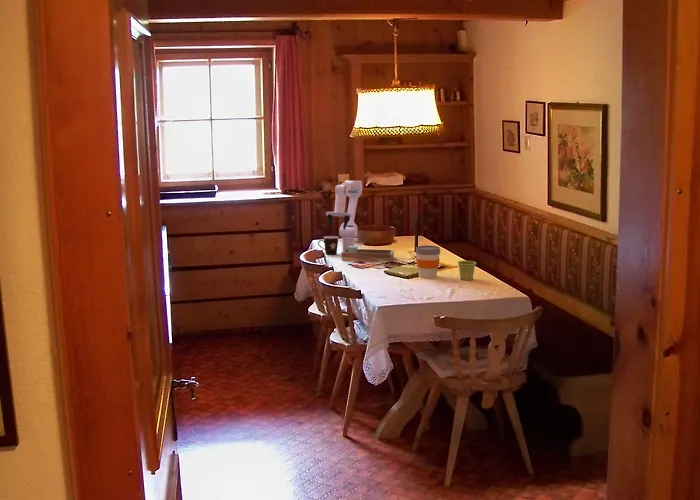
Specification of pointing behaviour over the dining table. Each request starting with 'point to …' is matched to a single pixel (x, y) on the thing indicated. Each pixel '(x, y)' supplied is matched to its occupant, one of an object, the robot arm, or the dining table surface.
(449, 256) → the dining table surface
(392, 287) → the dining table surface
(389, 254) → the trap tray
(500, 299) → the dining table surface
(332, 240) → the coffee mug
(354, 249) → the teal block
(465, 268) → the plant pot
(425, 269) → the reusable coffee cup
